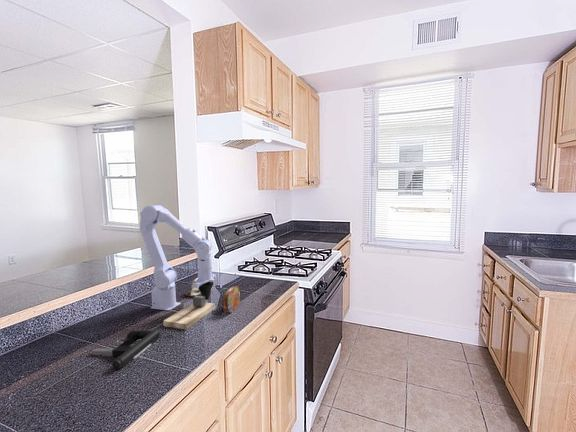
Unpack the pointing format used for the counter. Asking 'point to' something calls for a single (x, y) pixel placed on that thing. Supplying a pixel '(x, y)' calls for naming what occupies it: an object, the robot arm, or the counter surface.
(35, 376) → the counter surface
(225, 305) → the tin
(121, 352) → the door handle
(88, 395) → the counter surface
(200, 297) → the fader knob
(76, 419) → the counter surface
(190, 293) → the skull
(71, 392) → the counter surface
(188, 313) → the slider board
